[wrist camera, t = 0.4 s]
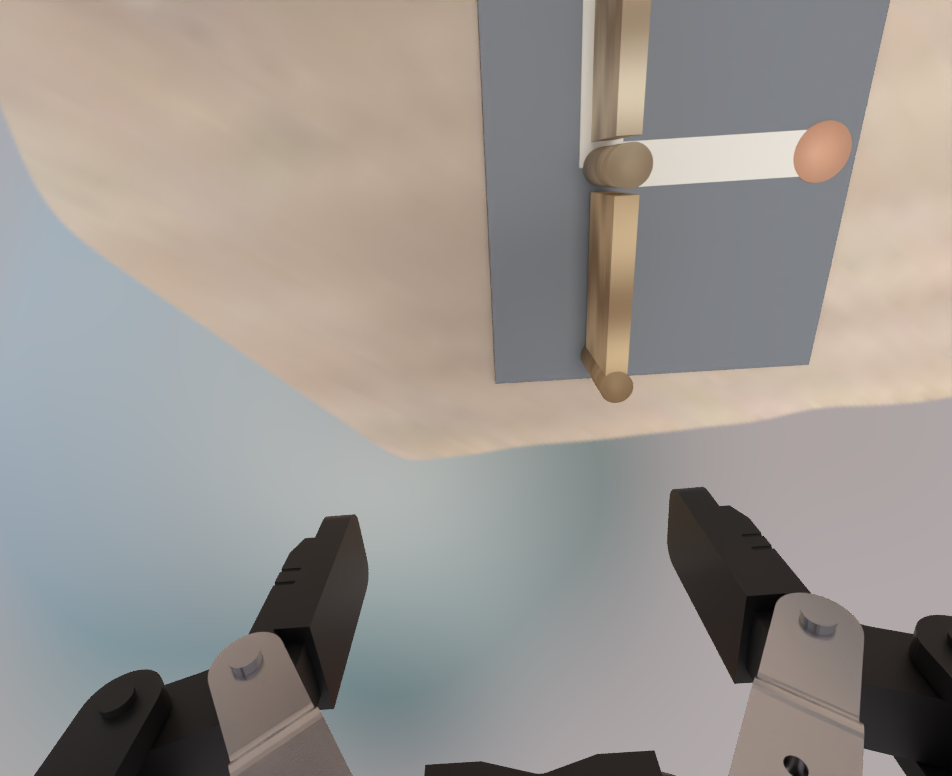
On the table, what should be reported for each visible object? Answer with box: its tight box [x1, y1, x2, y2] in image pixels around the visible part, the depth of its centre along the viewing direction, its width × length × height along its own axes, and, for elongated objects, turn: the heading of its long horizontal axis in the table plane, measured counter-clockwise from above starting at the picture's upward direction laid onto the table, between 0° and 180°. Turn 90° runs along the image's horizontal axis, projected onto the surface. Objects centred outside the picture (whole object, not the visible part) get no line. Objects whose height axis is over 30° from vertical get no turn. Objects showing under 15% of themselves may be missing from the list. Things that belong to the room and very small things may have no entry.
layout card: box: [478, 0, 890, 384], centre depth 28 cm, size 26×21×1 cm
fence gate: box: [581, 191, 640, 403], centre depth 28 cm, size 11×2×5 cm, turn 3°
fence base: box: [583, 0, 653, 189], centre depth 23 cm, size 13×2×6 cm, turn 3°
